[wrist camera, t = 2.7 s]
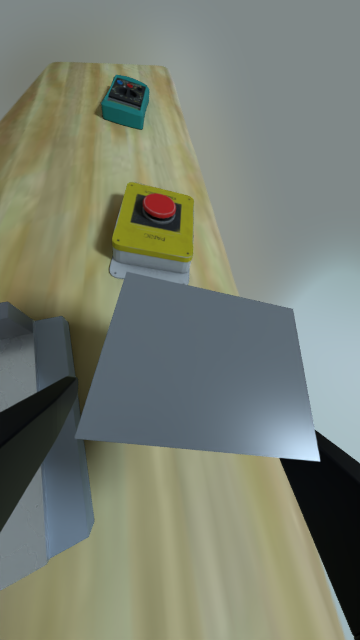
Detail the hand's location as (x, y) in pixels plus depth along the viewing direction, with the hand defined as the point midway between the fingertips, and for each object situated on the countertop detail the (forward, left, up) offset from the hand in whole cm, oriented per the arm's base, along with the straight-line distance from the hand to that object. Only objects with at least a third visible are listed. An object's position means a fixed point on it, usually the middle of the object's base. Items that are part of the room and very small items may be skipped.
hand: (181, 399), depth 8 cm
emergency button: (+20, -1, -9) cm, 22 cm away
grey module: (+1, 0, -9) cm, 9 cm away
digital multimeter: (+55, +2, -9) cm, 56 cm away
